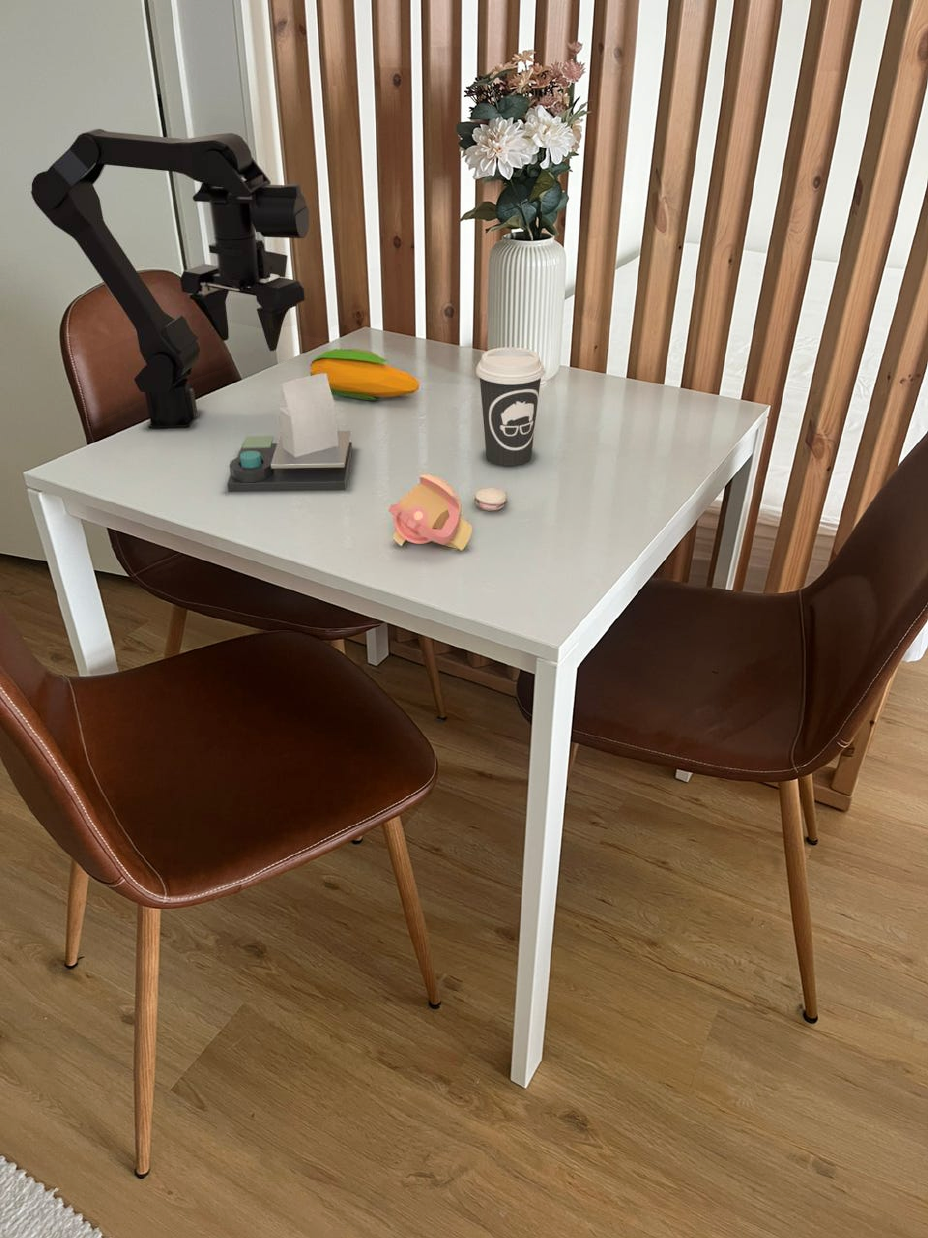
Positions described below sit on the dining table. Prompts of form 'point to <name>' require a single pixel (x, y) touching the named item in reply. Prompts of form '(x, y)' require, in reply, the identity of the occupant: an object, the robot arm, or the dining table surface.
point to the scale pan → (313, 455)
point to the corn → (362, 375)
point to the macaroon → (490, 498)
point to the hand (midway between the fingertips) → (249, 345)
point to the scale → (285, 475)
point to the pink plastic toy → (430, 515)
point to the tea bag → (307, 415)
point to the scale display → (258, 442)
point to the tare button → (250, 459)
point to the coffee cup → (509, 403)
